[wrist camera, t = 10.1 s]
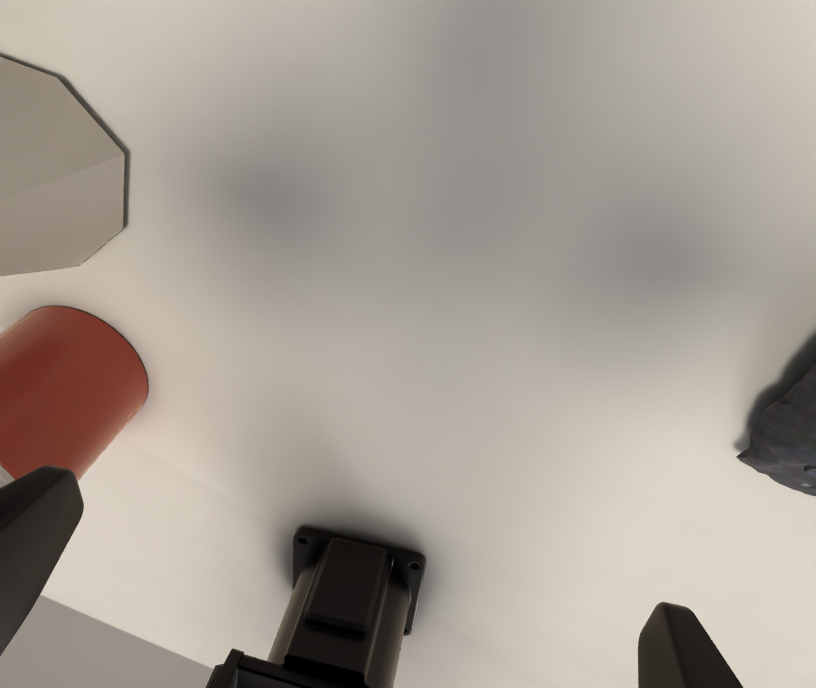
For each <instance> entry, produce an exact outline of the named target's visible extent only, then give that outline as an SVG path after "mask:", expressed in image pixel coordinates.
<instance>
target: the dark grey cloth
mask: <svg viewBox="0 0 816 688" xmlns="http://www.w3.org/2000/svg"><path fill="white" fill-rule="evenodd" d="M737 458H738V459H739V460H740V461H741V462H743V463H745V464H747V465H749V466H751V467H752V468H754V469H755V470H756V471H758V472H760V473H763V474H767V475H768V476H769V477H770V478H772V479H773V480H774V481H776V482H778V483H780V484H782V485H784V486H787V487H789V488H792V489H794V490H798V491H801V492H803V493H805V494H809V495H813V496H816V363H815V364H814V365H813V366H812V367H811V369H810V370H809V371H808V372H807V374H806V375H805V377H804V378H802V379H800V380H799V381H797V383H796V384H795V385H794V386H793V387H792V388H791V389H790V390H789V391H788V393H787V394H786V395H785V396H784V397H783V398H781V399H779V400H777V401H775V402H774V403H773V404H772V405H770V406H769V407H768V408H767V409H765V410H764V411H763V412H762V414H761V418H760V421H759V423H758V424H757V425H756V426H755V427H754V428H753V429H752V430H751V433H750V448H748V449H747V450H745V451H744V452H742V453H741V454H739V455H738V456H737Z"/></svg>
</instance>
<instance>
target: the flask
mask: <svg viewBox="0 0 816 688" xmlns="http://www.w3.org/2000/svg"><path fill="white" fill-rule="evenodd" d="M124 161H125V154H124V153H123V152H122V150H121V149H120V148H119V147H118V146H117V145H116V144H115V143H114V141H113V140H112V139H111V138H110V137H109V136H108V135H107V133H106V132H105V131H104V130H103V129H102V128H101V127H100V126H99V124H98V123H97V122H96V121H95V120H94V119H93V118H92V116H91V115H90V114H89V113H88V112H87V111H86V110H85V109H84V107H83V106H82V105H81V104H80V103H79V102H78V101H77V99H76V98H75V97H74V96H73V95H72V94H71V93H70V92H69V90H68V89H67V88H66V87H65V86H64V85H63V84H62V82H61V81H60V80H59V79H58V78H57V77H54V76H51V75H48V74H46V73H43V72H40V71H38V70H35V69H32V68H29V67H27V66H24V65H21V64H18V63H16V62H13V61H10V60H8V59H5V58H2V57H0V276H5V275H14V274H22V273H31V272H39V271H48V270H56V269H63V268H69V267H76V266H79V265H81V264H82V263H83V262H84V261H85V260H87V259H88V258H89V257H90V256H91V255H93V254H94V253H95V252H96V251H97V250H98V249H100V248H101V247H102V246H103V245H104V244H106V243H107V242H108V241H109V240H110V239H112V238H113V237H114V236H115V235H116V234H118V233H119V232H120V231H121V230H122V229H123V201H124Z"/></svg>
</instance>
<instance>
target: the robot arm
mask: <svg viewBox="0 0 816 688" xmlns="http://www.w3.org/2000/svg"><path fill="white" fill-rule="evenodd" d="M83 509H84V503H83V499H82V496H81V492H80V489H79V485H78V482H77V478H76V475H75V473H74V472H73V471H72V470H70V469H67V468H63V467H58V466H54V465H45V466H42V467H39V468H37V469H35V470H33V471H31V472H30V473H28V474H26V475H24V476H22V477H20V478H18V479H16V480H14V481H12V482H10V483H8V484H7V485H5V486H3V487H1V488H0V656H1V654H2V653H3V651H4V650H5V648H6V647H7V645H8V644H9V642H10V641H11V639H12V638H13V636H14V635H15V634H16V632H17V630H18V629H19V628H20V626H21V624H22V623H23V621H24V620H25V618H26V616H27V615H28V614H29V612H30V611H31V609H32V607H33V605H34V604H35V602H36V600H37V599H38V597H39V595H40V593H41V592H42V590H43V588H44V586H45V584H46V582H47V580H48V579H49V577H50V575H51V573H52V571H53V569H54V567H55V566H56V564H57V562H58V560H59V558H60V556H61V554H62V553H63V551H64V549H65V547H66V545H67V543H68V542H69V540H70V538H71V536H72V534H73V532H74V530H75V529H76V527H77V525H78V523H79V521H80V519H81V517H82V514H83ZM425 564H426V559H425V557H424V556H423V555H421V554H419V553H416V552H412V551H407V550H403V549H398V548H394V547H389V546H385V545H380V544H376V543H372V542H367V541H363V540H358V539H354V538H349V537H345V536H340V535H336V534H331V533H327V532H323V531H318V530H314V529H309V528H303V527H302V528H299V529H297V531H296V533H295V536H294V539H293V594H292V596H291V599H290V601H289V604H288V607H287V609H286V612H285V615H284V617H283V620H282V622H281V625H280V628H279V630H278V633H277V636H276V638H275V641H274V643H273V646H272V649H271V651H270V654H269V657H268V659H267V661H265V660H261V659H258V658H255V657H251V656H248V655H245V654H244V652H243V651H239V650H236V649H233V648H232V650H231V651H230V653H229V655H228V657H227V659H226V661H225V663H224V664H221V665H216V666H215V668H214V670H213V672H212V675H211V677H210V679H209V682H208V684H207V686H206V688H393V684H394V679H395V674H396V669H397V664H398V659H399V654H400V649H401V644H402V639H403V635H410V634H411V633H412V629H413V624H414V619H415V614H416V609H417V604H418V599H419V594H420V589H421V584H422V579H423V574H424V569H425ZM638 684H639V688H743V686H742V685H741V683H740V682H739V680H738V679H737V677H736V676H735V674H734V673H733V671H732V670H731V668H730V667H729V665H728V664H727V662H726V661H725V659H724V658H723V656H722V655H721V653H720V652H719V650H718V649H717V647H716V646H715V644H714V643H713V641H712V640H711V638H710V637H709V635H708V634H707V632H706V631H705V629H704V628H703V626H702V625H701V623H700V622H699V620H698V619H697V617H696V616H695V614H694V613H693V612H692V611H691V610H690V609H689V608H687V607H684V606H680V605H675V604H671V603H666V602H661V603H659V604H658V605H657V606H656V607H655V609H654V611H653V612H652V614H651V616H650V617H649V619H648V621H647V622H646V624H645V626H644V628H643V629H642V631H641V633H640V637H639V642H638Z"/></svg>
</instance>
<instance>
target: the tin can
mask: <svg viewBox="0 0 816 688" xmlns="http://www.w3.org/2000/svg"><path fill="white" fill-rule="evenodd" d="M147 392H148V382H147V376H146V372H145V369H144V367H143V364H142V362H141V361H140V359H139V357H138V355H137V354H136V352H135V351H134V349H133V348H132V347H131V346H130V345H129V343H128V342H127V341H126V340H125V339H124V338H123V337H122V336H121V335H120V334H119V333H118V332H116V331H115V330H114V329H113V328H111V327H110V326H109V325H107V324H106V323H104V322H103V321H101V320H99V319H98V318H96V317H94V316H92V315H90V314H87V313H85V312H82V311H79V310H76V309H72V308H68V307H61V306H49V307H42V308H39V309H36V310H34V311H32V312H30V313H29V314H27V315H26V316H24V317H23V318H22V319H20V320H19V321H18V322H16V323H15V324H13V325H12V326H11V327H9V328H8V329H7V330H5V331H4V332H2V333H1V334H0V488H1V487H3V486H5V485H7V484H8V483H10V482H12V481H14V480H16V479H18V478H20V477H22V476H24V475H26V474H28V473H30V472H31V471H33V470H35V469H37V468H39V467H42V466H45V465H54V466H58V467H63V468H67V469H70V470H72V471H73V472H74V473H75V475H76V478H77V482H78V480H79V479H80V478H81V477H82V476H83V475H84V473H85V472H86V471H87V470H88V469H89V468H90V466H91V465H92V464H93V463H94V462H95V461H96V459H97V458H98V457H99V456H100V455H101V454H102V452H103V451H104V450H105V449H106V448H107V447H108V445H109V444H110V443H111V442H112V441H113V440H114V438H115V437H116V436H117V435H118V434H119V433H120V431H121V430H122V429H123V428H124V427H125V426H126V424H127V423H128V422H129V421H130V420H131V419H132V417H133V416H134V415H135V414H136V413H137V412H138V410H139V409H140V408H141V407H142V405H143V404H144V402H145V400H146V396H147Z"/></svg>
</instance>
